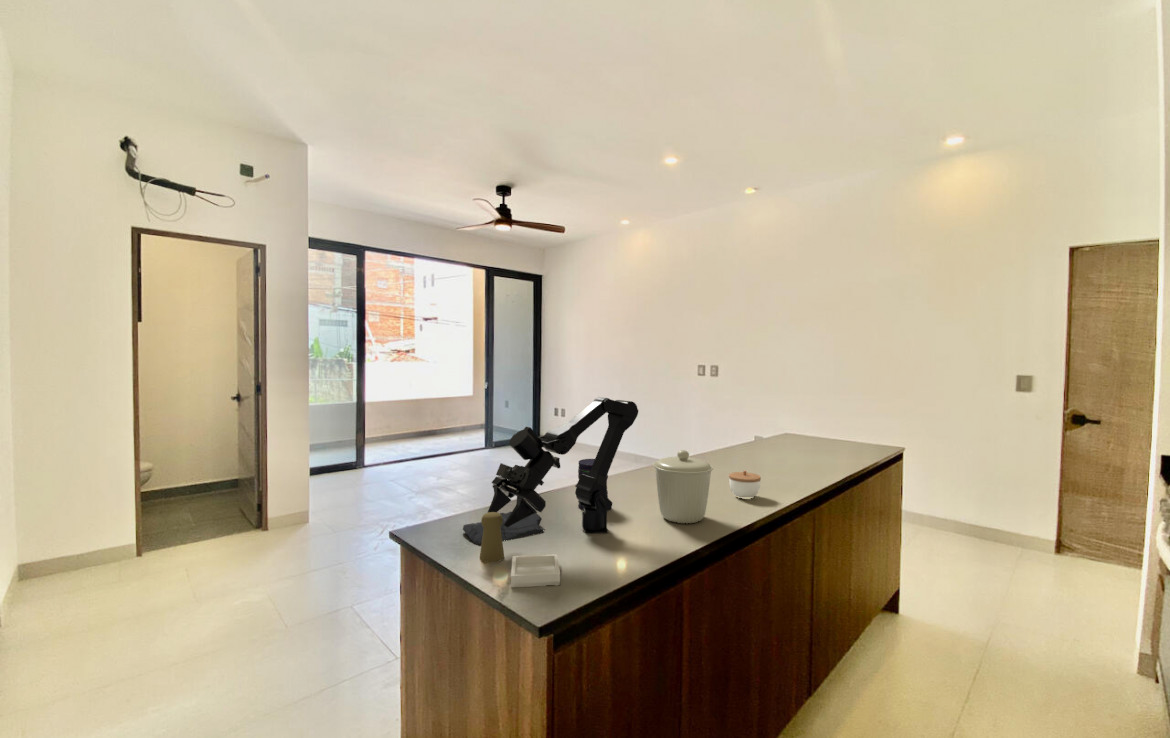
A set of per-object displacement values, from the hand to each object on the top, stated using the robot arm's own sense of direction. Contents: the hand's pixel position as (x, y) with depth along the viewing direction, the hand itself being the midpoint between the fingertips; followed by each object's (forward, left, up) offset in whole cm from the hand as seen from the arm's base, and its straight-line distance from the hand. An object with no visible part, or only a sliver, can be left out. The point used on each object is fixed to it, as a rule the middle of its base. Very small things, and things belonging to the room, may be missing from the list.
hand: (496, 521), depth 123 cm
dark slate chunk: (-1, -18, -10) cm, 20 cm away
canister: (-55, -23, -9) cm, 60 cm away
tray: (-9, +12, -9) cm, 17 cm away
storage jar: (-29, -37, -9) cm, 48 cm away
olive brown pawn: (+1, +1, -9) cm, 9 cm away
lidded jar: (-84, -43, -9) cm, 95 cm away
